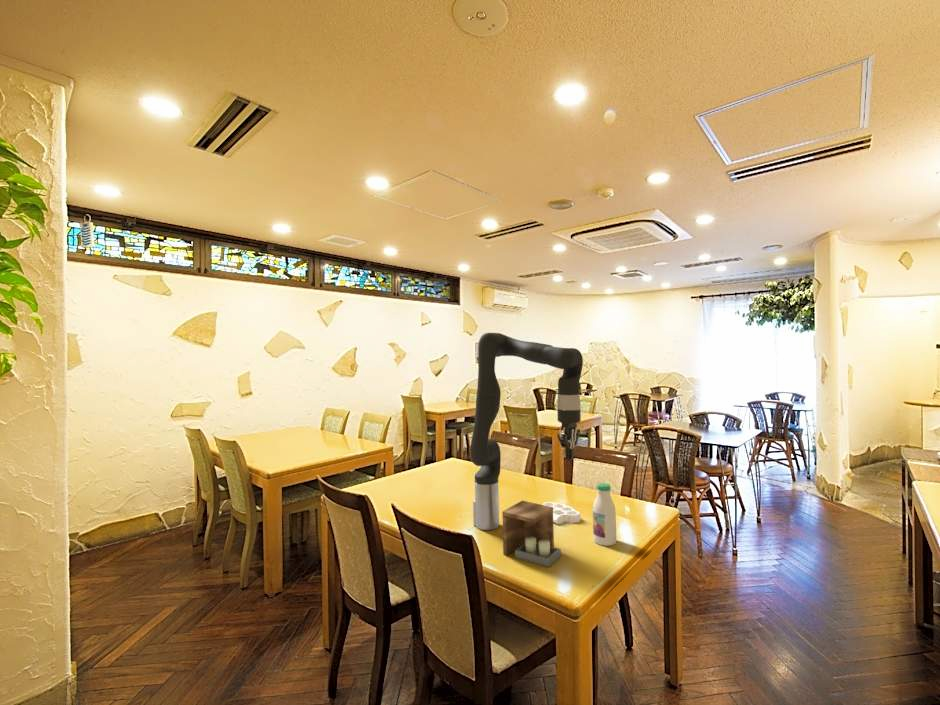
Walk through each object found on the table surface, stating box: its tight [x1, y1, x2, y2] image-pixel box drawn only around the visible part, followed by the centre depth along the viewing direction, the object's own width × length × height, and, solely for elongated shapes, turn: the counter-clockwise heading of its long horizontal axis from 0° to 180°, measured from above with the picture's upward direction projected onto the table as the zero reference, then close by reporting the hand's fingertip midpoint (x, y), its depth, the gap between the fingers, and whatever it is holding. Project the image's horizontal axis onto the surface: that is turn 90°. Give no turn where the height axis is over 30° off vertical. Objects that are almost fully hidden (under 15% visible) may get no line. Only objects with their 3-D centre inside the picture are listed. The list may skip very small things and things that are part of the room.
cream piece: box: [539, 540, 550, 558], centre depth 136 cm, size 4×4×5 cm
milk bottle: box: [592, 482, 617, 547], centre depth 147 cm, size 8×8×20 cm
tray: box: [514, 542, 562, 569], centre depth 137 cm, size 12×9×3 cm
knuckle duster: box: [542, 501, 581, 525], centre depth 171 cm, size 3×18×15 cm
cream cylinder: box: [525, 536, 536, 555], centre depth 138 cm, size 4×4×5 cm
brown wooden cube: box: [502, 500, 555, 556], centre depth 141 cm, size 12×13×14 cm
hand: (569, 459), depth 140 cm, fingers closed
